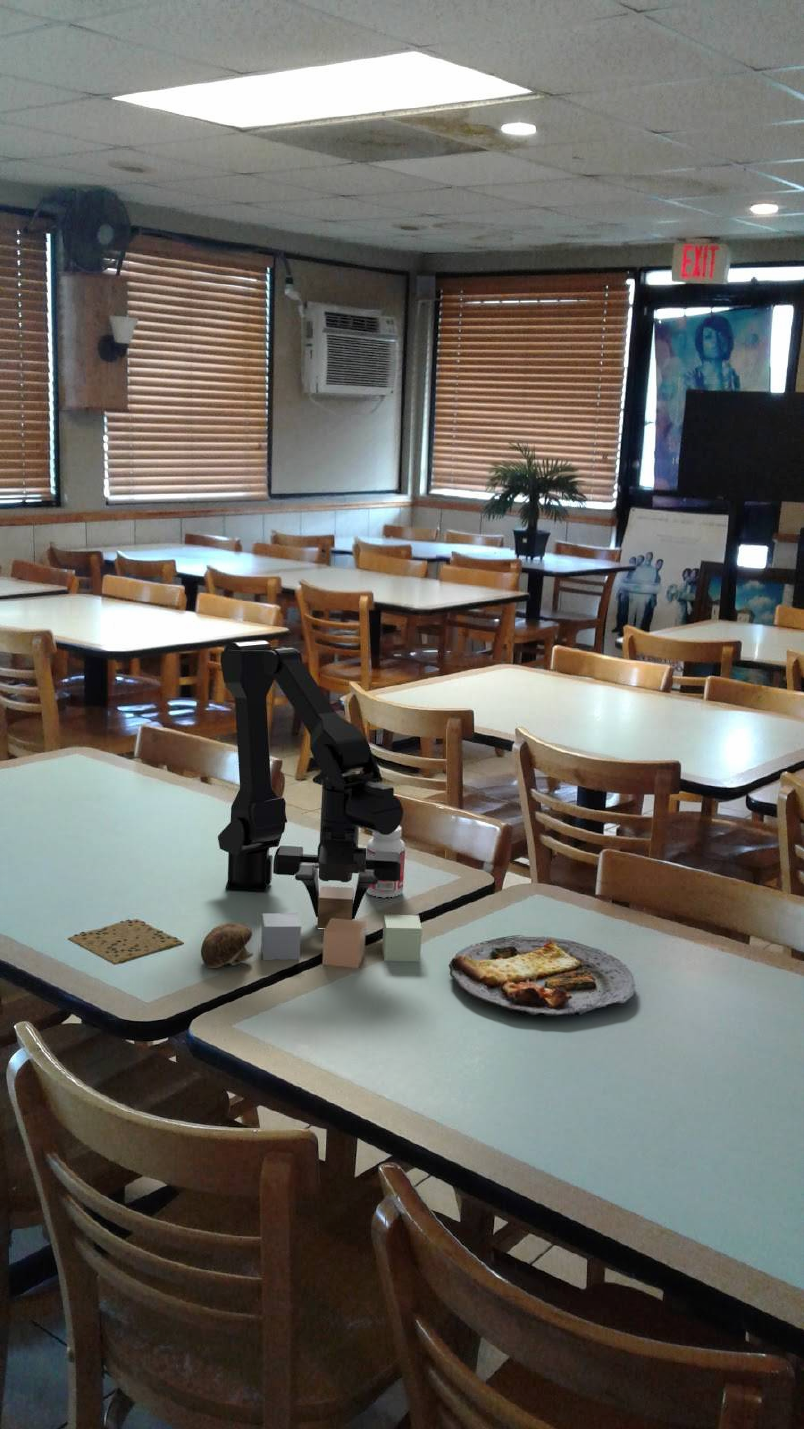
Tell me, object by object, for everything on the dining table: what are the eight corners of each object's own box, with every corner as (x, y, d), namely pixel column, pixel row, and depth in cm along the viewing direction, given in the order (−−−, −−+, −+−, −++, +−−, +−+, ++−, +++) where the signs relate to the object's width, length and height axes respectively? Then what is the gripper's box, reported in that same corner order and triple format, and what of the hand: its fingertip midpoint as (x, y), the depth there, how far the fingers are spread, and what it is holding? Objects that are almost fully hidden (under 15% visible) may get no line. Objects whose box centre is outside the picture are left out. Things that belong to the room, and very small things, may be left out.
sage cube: (384, 961, 177) (386, 927, 176) (382, 947, 182) (384, 914, 181) (419, 962, 178) (421, 928, 176) (416, 948, 182) (418, 915, 181)
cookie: (64, 941, 178) (64, 934, 178) (136, 921, 187) (136, 915, 187) (113, 968, 170) (113, 961, 170) (186, 946, 179) (186, 940, 179)
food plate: (507, 1038, 156) (509, 1011, 155) (418, 966, 176) (419, 943, 176) (666, 1007, 168) (668, 982, 167) (565, 943, 188) (567, 921, 187)
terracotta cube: (322, 964, 175) (323, 930, 174) (329, 951, 180) (331, 917, 178) (357, 968, 174) (359, 934, 173) (364, 954, 179) (366, 921, 178)
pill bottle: (386, 883, 208) (390, 819, 206) (410, 894, 204) (414, 829, 202) (356, 890, 204) (360, 824, 202) (380, 901, 200) (384, 834, 198)
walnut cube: (317, 929, 187) (318, 897, 186) (319, 917, 192) (320, 885, 191) (350, 931, 187) (352, 899, 186) (352, 918, 192) (353, 887, 191)
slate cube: (263, 960, 175) (264, 926, 174) (261, 946, 180) (262, 913, 179) (299, 960, 176) (301, 926, 175) (296, 946, 181) (297, 913, 180)
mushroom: (275, 940, 174) (248, 906, 172) (246, 979, 168) (218, 944, 166) (238, 951, 179) (211, 918, 177) (208, 990, 173) (181, 956, 171)
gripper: (270, 830, 178) (267, 934, 181) (402, 837, 178) (396, 941, 181) (279, 808, 189) (275, 906, 192) (403, 815, 189) (397, 913, 192)
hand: (335, 917), depth 189 cm, fingers closed on walnut cube, 5 cm apart
